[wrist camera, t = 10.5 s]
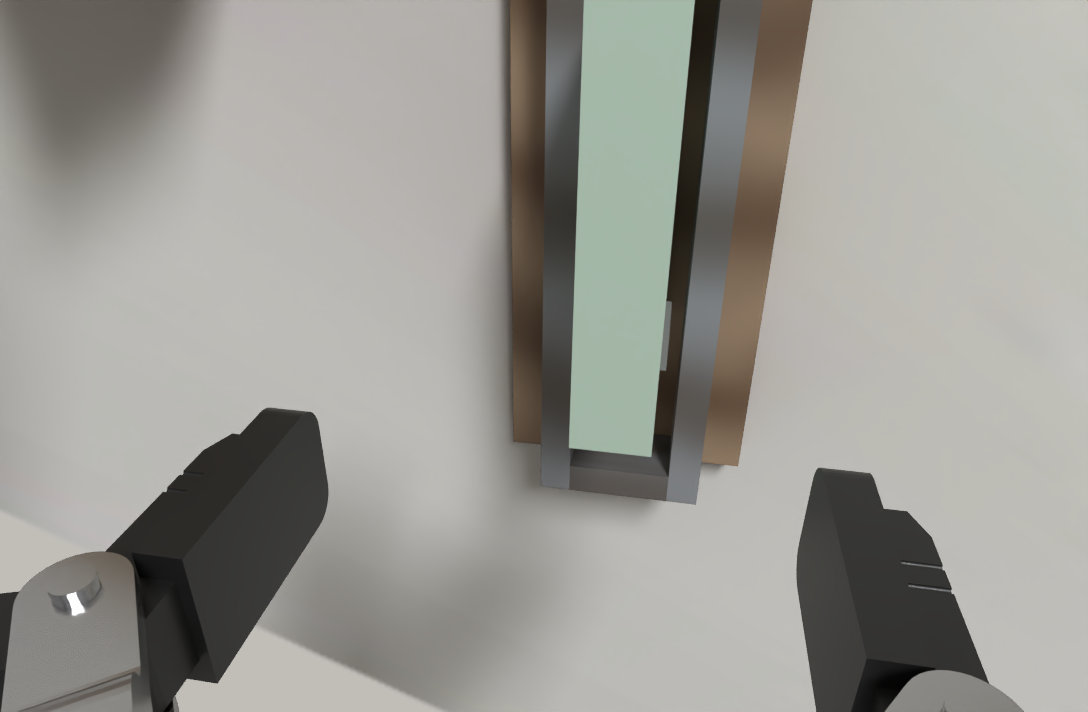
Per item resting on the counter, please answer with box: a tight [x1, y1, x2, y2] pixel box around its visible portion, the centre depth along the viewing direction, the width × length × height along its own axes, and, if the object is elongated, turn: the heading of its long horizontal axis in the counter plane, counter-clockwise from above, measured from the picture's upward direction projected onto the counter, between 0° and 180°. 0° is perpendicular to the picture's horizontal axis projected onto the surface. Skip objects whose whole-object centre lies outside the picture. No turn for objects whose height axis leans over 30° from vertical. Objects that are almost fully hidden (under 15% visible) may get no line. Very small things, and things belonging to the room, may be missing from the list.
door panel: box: [569, 0, 695, 457], centre depth 24 cm, size 12×3×10 cm, turn 179°
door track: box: [510, 0, 813, 505], centre depth 28 cm, size 24×10×4 cm, turn 179°
